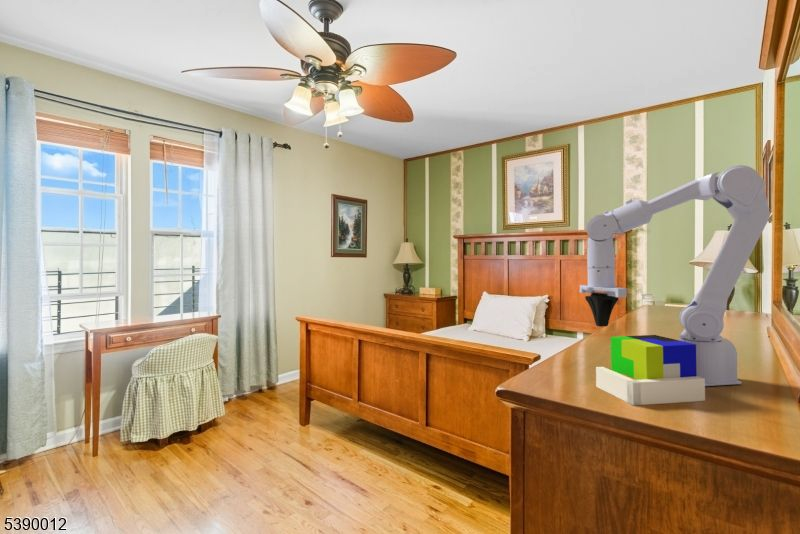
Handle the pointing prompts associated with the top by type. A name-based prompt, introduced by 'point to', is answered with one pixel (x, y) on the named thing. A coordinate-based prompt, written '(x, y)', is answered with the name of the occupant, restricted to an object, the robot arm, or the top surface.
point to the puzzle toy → (652, 357)
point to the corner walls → (650, 388)
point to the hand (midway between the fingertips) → (601, 326)
